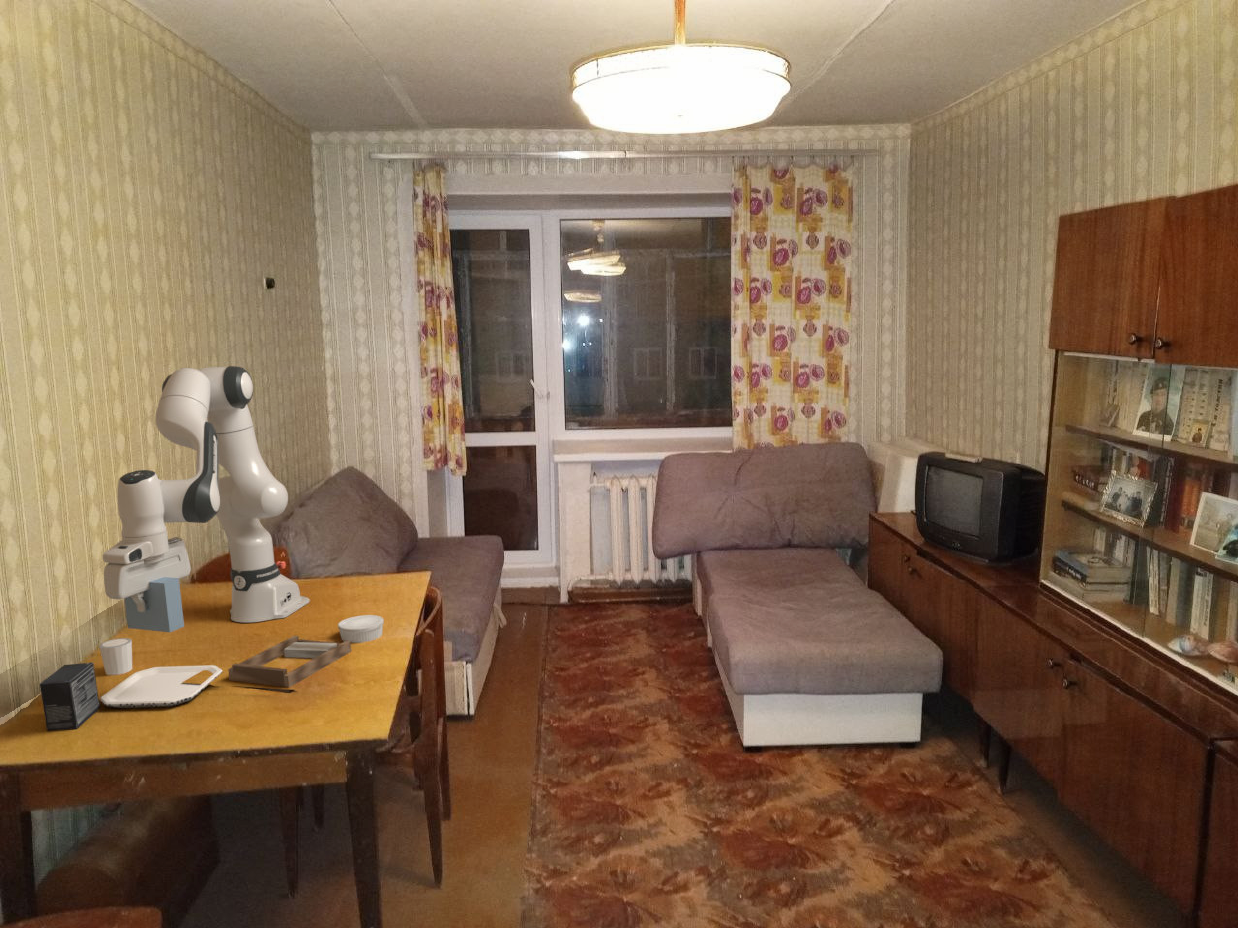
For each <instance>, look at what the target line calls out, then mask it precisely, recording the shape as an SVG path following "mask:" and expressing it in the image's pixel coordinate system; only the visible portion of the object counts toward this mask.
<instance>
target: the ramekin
mask: <svg viewBox="0 0 1238 928" xmlns="http://www.w3.org/2000/svg"><path fill="white" fill-rule="evenodd" d="M384 621H385V620H384V618H383V617H382V616H380V615H376V614H375V615H374V614H365V615H363V614H362V615H357V616H351V617H348V618H346V619H343V620H341V621H340V622H338V624H337V629H338V630H339V635H340V638H341V640H342V641H343V642H345V641H350V642H351V644H352V643H353V644H361V643H367V642H371V641H374V640H376V639H379V638H380V637H382V636H383V628H384V623H385V622H384Z"/></svg>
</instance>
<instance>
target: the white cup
mask: <svg viewBox="0 0 1238 928" xmlns="http://www.w3.org/2000/svg"><path fill="white" fill-rule="evenodd" d="M98 647H99V652H100V655H101V660H102V663H103V664H102V665H103V668H104V673H105V674H106V676H118V675H122V674H127V673H128V672H130V671H132V670H133V641H132V639H131V638H127V637H126V638H125V637H121V638H113V639H110V640H106V641H103V642H101V643H99V645H98Z"/></svg>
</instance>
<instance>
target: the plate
mask: <svg viewBox="0 0 1238 928" xmlns="http://www.w3.org/2000/svg"><path fill="white" fill-rule="evenodd" d="M203 671H208V672H209V673H212V675H210V676H209V677H208V678H207V679H206V680H204V681H203V682H202V683H193V682H192V683H191V682H185V681H187V680H189V679H190V678H192V677H194V676H195V675H197V674H199V673H200V672H203ZM222 673H223V670H222V668H220V667H218V666H216V665H215V664H214V665H213V664H212V665H211V664H210V665H182V666H181V665H176V666H153V667H151V668H146V669H143V670H138V671H136V672H134V673H133V674H131V675H130V676H128V677H127V678H126V679H124V680H123V681H122V682H120V683H118V684H117V685H116V686H114V687H113V688H111V689H110V690H108V692H106V693H105V694H103V695H102V696H100V697H99V702H101V703H102V704H103V705H104V706H106V707H110V708H111V707H112V708H115V709H117V708H118V709H122V708H123V709H124V708H127V709H128V708H132V709H133V708H163V707H164V708H167V707H174V706H177V705H181V704H185V703H187V702H189V701H191V700H193V698H195V697H196V696H197V695H199V693H201V692H202V691H203V690H204V689H205V688H207V686H209V685H210V684H211V683H212V682H213V681H215V679H216V678H218V677H219V676H220V675H221V674H222Z"/></svg>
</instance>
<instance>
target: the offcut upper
mask: <svg viewBox="0 0 1238 928" xmlns="http://www.w3.org/2000/svg"><path fill="white" fill-rule="evenodd" d="M337 643H338V642H333V643H310V642H294V643H293V644H291V645H290V646H288V647H287V648H285V649H284V658H291V659H314V658H316V657H318V656H320V655H321V654H323V653H325V652H327V651H329V650H330V649H332V648H334V647H336V646H337Z"/></svg>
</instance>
